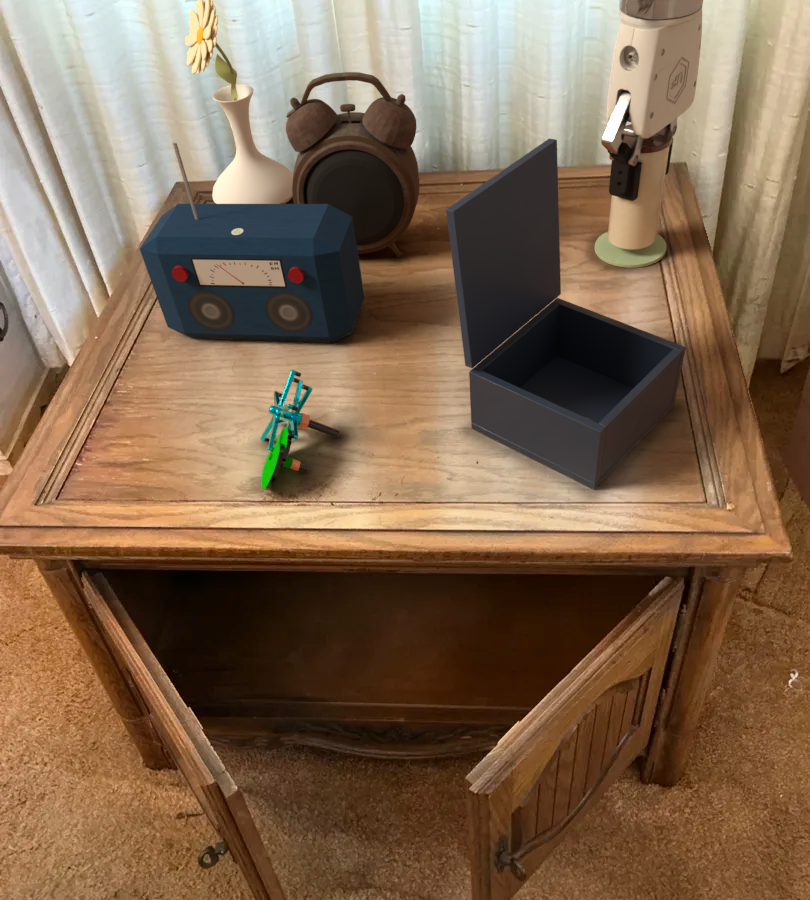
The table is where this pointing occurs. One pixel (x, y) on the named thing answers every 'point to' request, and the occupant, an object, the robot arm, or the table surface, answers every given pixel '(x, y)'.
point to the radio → (255, 270)
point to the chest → (575, 390)
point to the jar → (642, 196)
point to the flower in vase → (235, 123)
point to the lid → (506, 251)
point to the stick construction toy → (288, 431)
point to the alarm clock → (357, 161)
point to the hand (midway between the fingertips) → (638, 182)
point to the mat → (629, 253)
